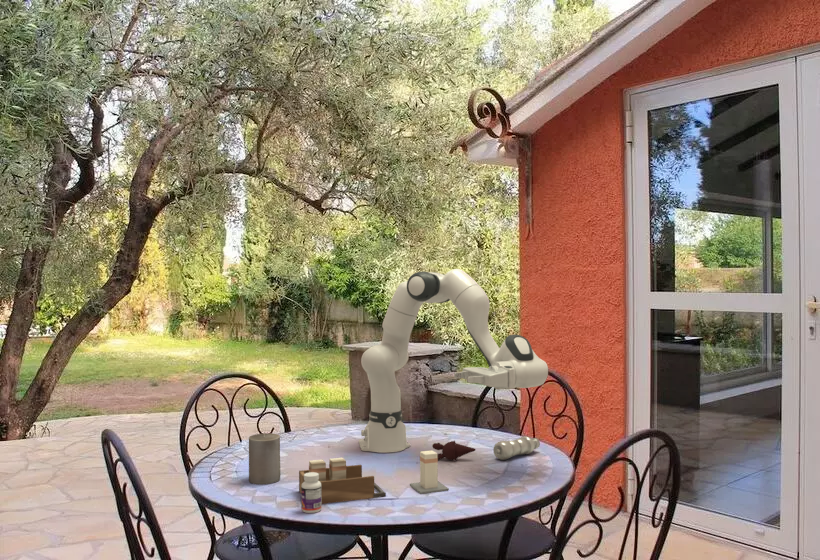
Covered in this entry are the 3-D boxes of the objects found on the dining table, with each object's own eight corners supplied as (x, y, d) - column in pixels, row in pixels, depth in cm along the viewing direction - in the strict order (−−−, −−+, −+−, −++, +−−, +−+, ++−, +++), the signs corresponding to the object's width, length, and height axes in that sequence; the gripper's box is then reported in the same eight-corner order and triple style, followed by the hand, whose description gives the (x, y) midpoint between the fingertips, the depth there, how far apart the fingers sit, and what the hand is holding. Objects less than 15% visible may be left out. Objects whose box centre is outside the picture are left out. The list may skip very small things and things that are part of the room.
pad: (409, 485, 205) (409, 483, 205) (437, 482, 208) (437, 480, 208) (420, 494, 197) (420, 491, 197) (448, 490, 200) (448, 488, 200)
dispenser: (299, 491, 200) (298, 457, 200) (371, 483, 208) (371, 450, 208) (308, 505, 187) (308, 469, 187) (385, 496, 195) (385, 461, 195)
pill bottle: (302, 507, 186) (302, 471, 186) (322, 506, 186) (321, 471, 186) (300, 513, 180) (300, 477, 180) (321, 513, 181) (320, 476, 181)
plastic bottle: (501, 439, 232) (539, 431, 244) (488, 444, 237) (526, 436, 249) (507, 458, 230) (545, 449, 242) (494, 463, 234) (532, 454, 247)
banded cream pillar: (420, 484, 204) (419, 451, 204) (432, 483, 205) (432, 450, 205) (425, 488, 200) (424, 454, 200) (437, 487, 201) (437, 453, 201)
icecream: (475, 439, 238) (433, 441, 240) (473, 438, 231) (430, 441, 233) (477, 459, 236) (434, 462, 238) (475, 459, 229) (431, 462, 231)
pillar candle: (253, 475, 217) (252, 429, 217) (283, 475, 216) (283, 428, 216) (245, 485, 207) (244, 436, 207) (276, 485, 207) (276, 436, 207)
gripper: (486, 362, 224) (447, 363, 219) (516, 369, 205) (475, 371, 200) (486, 381, 224) (448, 383, 219) (516, 389, 205) (475, 392, 200)
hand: (461, 377), depth 210 cm, fingers open, 8 cm apart
